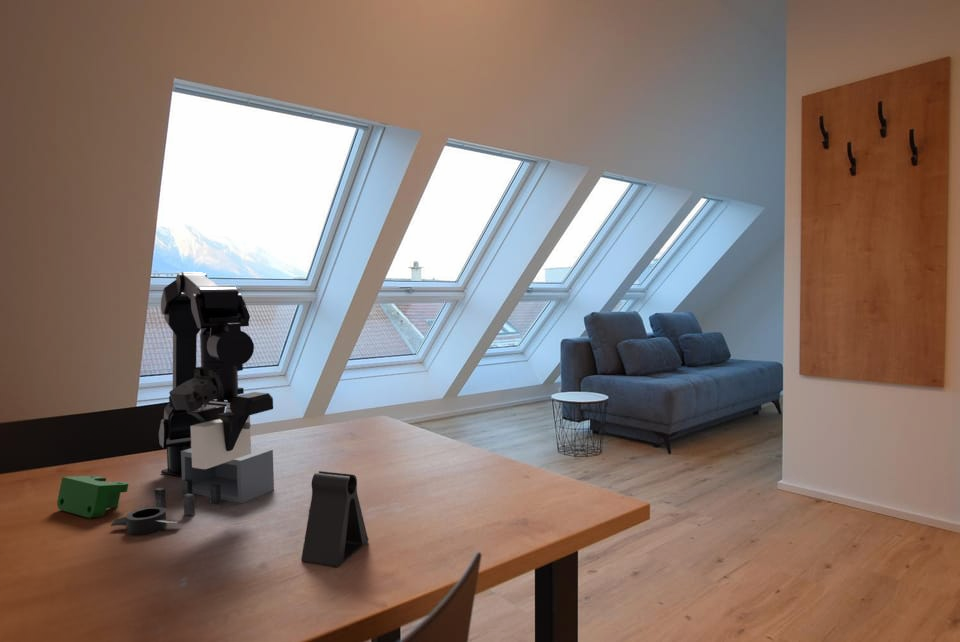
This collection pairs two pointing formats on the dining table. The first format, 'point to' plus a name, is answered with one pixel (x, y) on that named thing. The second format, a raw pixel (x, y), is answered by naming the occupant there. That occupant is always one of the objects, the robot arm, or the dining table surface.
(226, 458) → the white block
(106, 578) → the dining table surface
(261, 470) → the cabinet
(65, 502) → the clamp
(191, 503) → the clip brackets
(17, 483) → the dining table surface
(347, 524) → the phone stand
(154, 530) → the dark grey tabbed ring
